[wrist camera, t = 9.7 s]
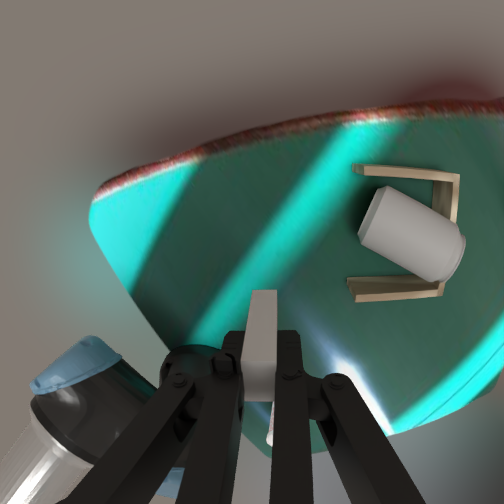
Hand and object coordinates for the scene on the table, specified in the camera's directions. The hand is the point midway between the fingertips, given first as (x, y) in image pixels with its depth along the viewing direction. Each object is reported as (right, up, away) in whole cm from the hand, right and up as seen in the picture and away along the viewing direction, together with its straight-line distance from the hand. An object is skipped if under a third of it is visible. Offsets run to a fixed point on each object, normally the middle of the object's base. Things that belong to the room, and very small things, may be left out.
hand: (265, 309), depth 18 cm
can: (+12, +8, +13) cm, 19 cm away
